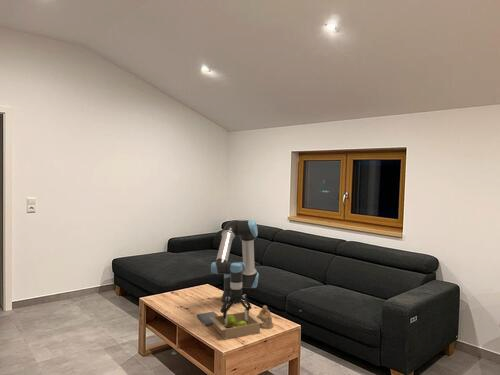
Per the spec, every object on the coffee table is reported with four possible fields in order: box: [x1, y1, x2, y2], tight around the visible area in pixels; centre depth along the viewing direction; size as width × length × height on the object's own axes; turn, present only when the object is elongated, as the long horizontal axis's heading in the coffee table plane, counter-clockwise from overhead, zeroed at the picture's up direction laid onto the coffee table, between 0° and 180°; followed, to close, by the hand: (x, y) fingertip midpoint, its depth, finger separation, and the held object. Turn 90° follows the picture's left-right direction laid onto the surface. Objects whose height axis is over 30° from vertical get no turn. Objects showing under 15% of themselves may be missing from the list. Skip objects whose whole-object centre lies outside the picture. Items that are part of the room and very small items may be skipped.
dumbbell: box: [224, 314, 248, 328], centre depth 244 cm, size 16×8×7 cm, turn 38°
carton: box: [210, 311, 263, 340], centre depth 244 cm, size 28×22×6 cm
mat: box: [196, 311, 218, 327], centre depth 260 cm, size 12×19×2 cm, turn 25°
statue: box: [256, 304, 275, 330], centre depth 252 cm, size 12×14×10 cm
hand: (236, 321), depth 244 cm, fingers open, 13 cm apart
